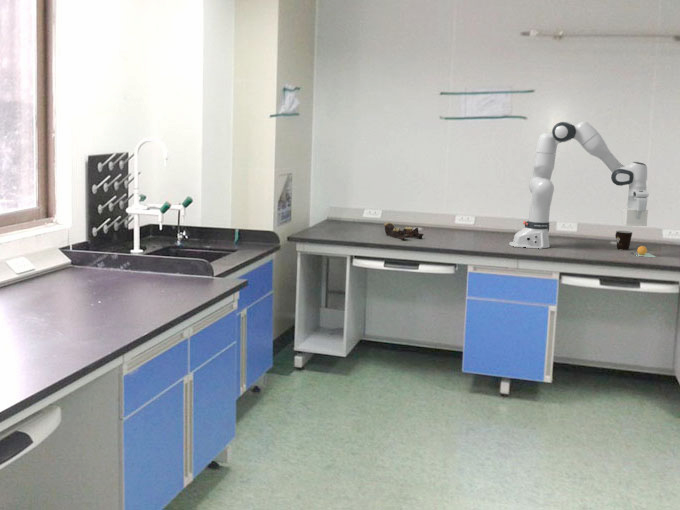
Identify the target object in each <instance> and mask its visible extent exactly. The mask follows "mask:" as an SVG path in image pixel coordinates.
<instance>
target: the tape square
mask: <svg viewBox="0 0 680 510" xmlns="http://www.w3.org/2000/svg"><path fill="white" fill-rule="evenodd" d="M639 256H644V257H645V258H656V256H655V255H653V254H651V253H646V254H645V255H639V254H638V256H637V255H636V257H639ZM644 257H643V258H644Z"/></svg>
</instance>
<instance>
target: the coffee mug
mask: <svg viewBox="0 0 680 510" xmlns="http://www.w3.org/2000/svg"><path fill="white" fill-rule="evenodd" d="M614 236H615V239H616V249H617V250H619V249H623V250H622V251H629V250H628V249H630V245H631V241H632V237H633V231H628V230H616V232H615V235H614Z"/></svg>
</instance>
